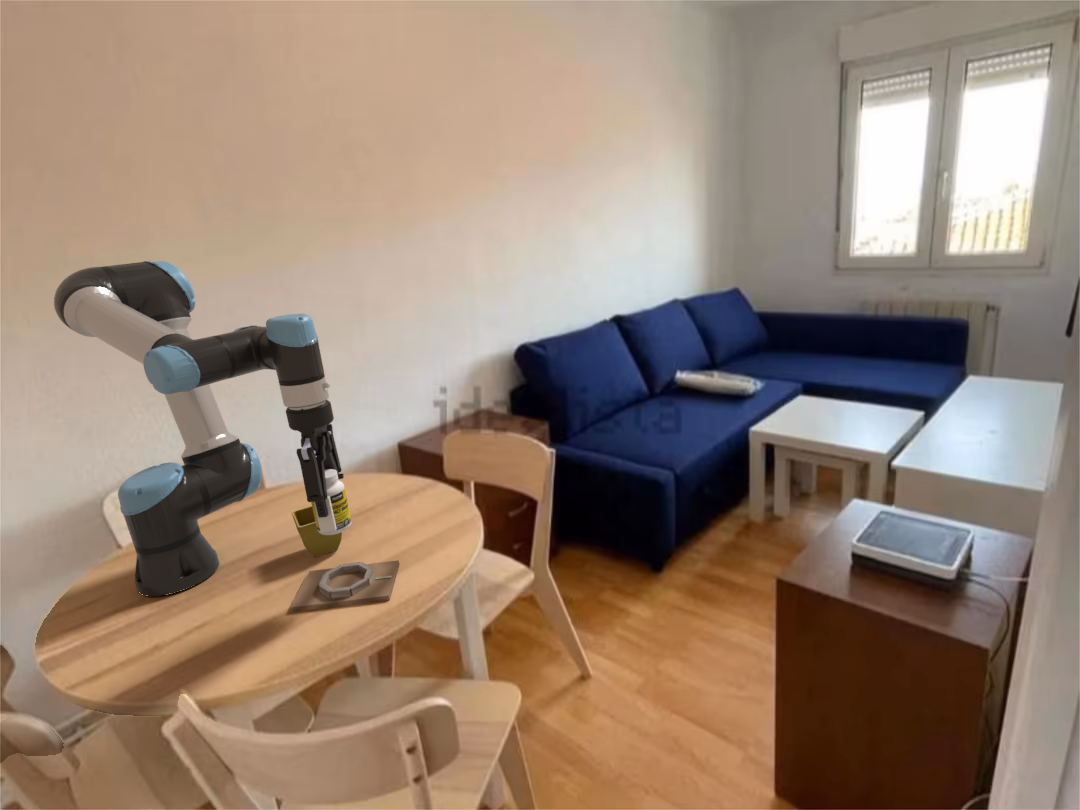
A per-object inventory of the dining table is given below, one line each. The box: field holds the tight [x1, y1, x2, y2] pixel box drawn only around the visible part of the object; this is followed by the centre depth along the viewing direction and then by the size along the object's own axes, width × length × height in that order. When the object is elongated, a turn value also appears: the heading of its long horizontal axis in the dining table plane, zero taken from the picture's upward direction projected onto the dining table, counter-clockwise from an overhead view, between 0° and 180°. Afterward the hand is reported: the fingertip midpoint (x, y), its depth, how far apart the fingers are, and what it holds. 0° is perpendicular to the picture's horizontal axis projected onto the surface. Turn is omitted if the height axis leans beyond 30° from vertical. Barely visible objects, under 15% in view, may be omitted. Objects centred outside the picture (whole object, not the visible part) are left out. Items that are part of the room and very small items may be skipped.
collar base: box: [290, 559, 400, 613], centre depth 115 cm, size 18×12×2 cm, turn 94°
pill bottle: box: [310, 469, 352, 535], centre depth 109 cm, size 6×6×11 cm
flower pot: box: [291, 505, 343, 558], centre depth 129 cm, size 9×9×9 cm
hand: (333, 521), depth 111 cm, fingers closed on pill bottle, 6 cm apart
